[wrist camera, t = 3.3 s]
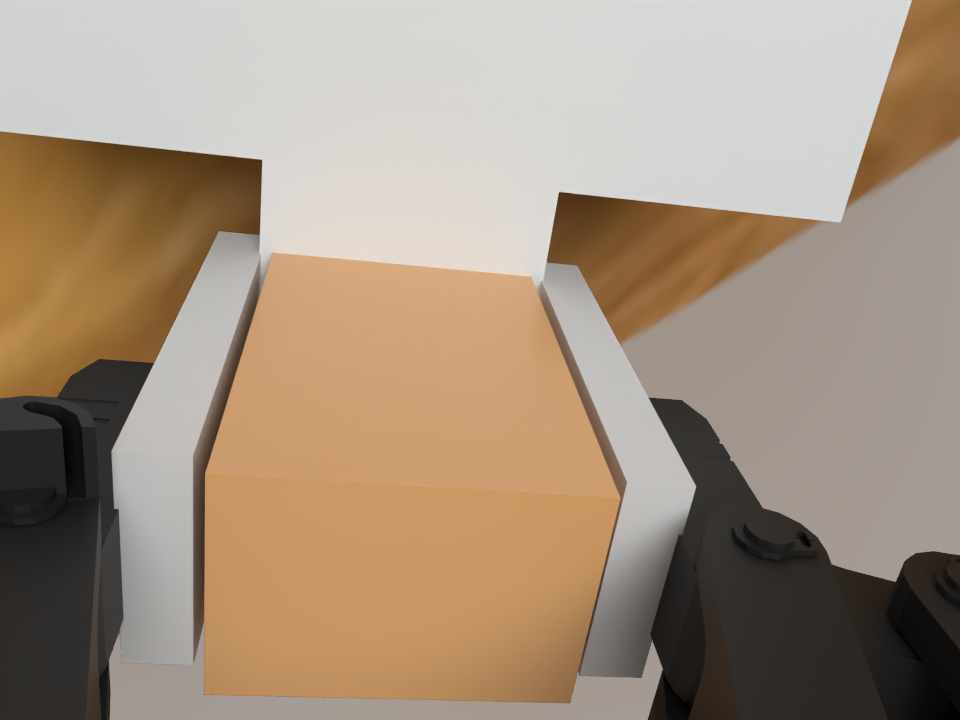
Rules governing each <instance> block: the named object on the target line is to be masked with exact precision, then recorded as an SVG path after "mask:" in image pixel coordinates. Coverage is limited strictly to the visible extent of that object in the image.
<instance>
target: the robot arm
mask: <svg viewBox="0 0 960 720" xmlns="http://www.w3.org/2000/svg"><path fill="white" fill-rule="evenodd" d="M259 249H260V235H254V234H243V233H233V232H223V231H219V232H218V234H217V236H216V238H215V240H214V242H213V244H212V246H211V249H210V251H209V253H208V255H207V257H206V259H205V261H204V263H203V265H202V267H201V269H200V271H199V273H198V275H197V277H196V279H195V281H194V283H193V285H192V287H191V289H190V291H189V294H188V296H187V298H186V300H185V302H184V304H183V306H182V308H181V310H180V312H179V314H178V316H177V318H176V320H175V322H174V324H173V326H172V328H171V330H170V332H169V334H168V336H167V338H166V341H165V343H164V345H163V347H162V349H161V351H160V353H159V355H158V357H157V359H156V361H155V363H144V362H131V361H118V360H104V359H99V360H97V361H95V362H94V363H92V364H90V365H89V366H87V367H85V368H84V369H82V370H80V371H79V372H77V373H75V374H74V375H72V376H71V377H70V378H69V380H68V381H67V383H66V384H65V386H64V388H63V389H62V391H61V392H60V394H59V395H58V397H57V398H55V397H40V396H19V397H11V398H2V399H0V720H109V717H110V677H109V658H110V655H111V652H112V650H113V647H114V644H115V641H116V638H117V636H118V633H119V630H120V641H121V663H132V664H169V665H171V664H172V665H193V664H194V660H195V656H196V651H197V647H198V644H199V640H200V635H201V631H202V627H203V623H204V588H205V473H206V470H207V466H208V463H209V460H210V456H211V453H212V450H213V447H214V443H215V440H216V437H217V434H218V430H219V427H220V424H221V420H222V417H223V414H224V411H225V407H226V404H227V401H228V398H229V394H230V391H231V388H232V385H233V381H234V378H235V375H236V371H237V368H238V365H239V362H240V358H241V355H242V352H243V349H244V345H245V342H246V339H247V336H248V332H249V329H250V326H251V322H252V319H253V316H254V313H255V309H256V306H257V303H258V300H259V296H260V269H261V254H259ZM539 297H540V300H541V302H542V305H543V307H544V309H545V312H546V314H547V317H548V319H549V322H550V324H551V327H552V329H553V332H554V334H555V337H556V339H557V342H558V344H559V347H560V349H561V352H562V354H563V357H564V359H565V362H566V364H567V366H568V369H569V371H570V374H571V376H572V379H573V381H574V384H575V386H576V389H577V391H578V394H579V396H580V399H581V401H582V404H583V406H584V409H585V411H586V414H587V416H588V419H589V421H590V424H591V426H592V428H593V431H594V433H595V436H596V438H597V441H598V443H599V446H600V448H601V451H602V453H603V456H604V458H605V461H606V463H607V466H608V468H609V471H610V473H611V476H612V478H613V481H614V483H615V485H616V488H617V490H618V493H619V495H620V498H621V499H620V503H619V507H618V511H617V515H616V519H615V523H614V527H613V531H612V535H611V539H610V543H609V547H608V551H607V555H606V560H605V564H604V568H603V572H602V576H601V580H600V584H599V588H598V592H597V596H596V600H595V604H594V608H593V612H592V616H591V621H590V625H589V629H588V633H587V637H586V641H585V645H584V649H583V653H582V657H581V661H580V665H579V669H578V672H579V675H580V676H600V677H601V676H602V677H634V678H636V677H637V678H641V677H642V674H643V670H644V667H645V663H646V660H647V656H648V653H649V649H650V646H651V642H652V640H653V643H654V646H655V648H656V651H657V654H658V656H659V659H660V662H661V665H662V668H663V671H662V674H661V677H660V681H659V684H658V687H657V691H656V694H655V697H654V701H653V704H652V707H651V711H650V714H649V718H648V720H960V555H953V554H946V553H941V552H934V551H932V552H925V553H915V554H914V555H913V556H911V557H910V558H908V559H907V560H906V561H905V562H904V564H903V567H902V569H901V571H900V574H899V576H898V578H897V581H896V582H893V581H889V580H885V579H882V578H877V577H874V576H870V575H866V574H862V573H858V572H854V571H851V570H847V569H844V568H841V567H837V566H834V565H831V562H830V559H829V556H828V554H827V551H826V550H825V548H824V547H823V545H822V544H821V542H820V541H819V539H818V537H816V536H815V535H814V534H812V533H811V532H810V531H809V530H808V529H807V528H805V527H804V526H803V525H802V524H800V523H798V522H796V521H794V520H792V519H790V518H788V517H786V516H784V515H782V514H780V513H778V512H774V511H771V510H767V509H764V508H762V506H761V505H760V503H759V502H758V500H757V498H756V497H755V495H754V494H753V492H752V491H751V489H750V488H749V486H748V484H747V482H746V481H745V479H744V478H743V476H742V475H741V473H740V471H739V470H738V469H737V467H736V465H735V464H734V462H733V461H730V455H729V454H728V452H727V451H726V449H725V448H724V446H723V444H720V443H719V441H720V440H719V438H718V436H717V435H716V433H715V432H714V430H713V429H712V427H711V425H710V424H709V422H708V421H707V419H705V418H704V417H703V416H702V415H700V414H699V413H698V412H696V411H695V410H694V409H692V408H691V407H690V406H689V405H687V404H686V403H684V402H683V401H682V400H672V399H658V398H648V396H647V394H646V393H645V391H644V389H643V387H642V385H641V384H640V381H639V380H638V378H637V376H636V374H635V372H634V370H633V368H632V367H631V365H630V363H629V361H628V359H627V357H626V356H625V354H624V352H623V350H622V348H621V346H620V344H619V342H618V341H617V339H616V337H615V335H614V333H613V331H612V329H611V328H610V326H609V324H608V322H607V320H606V318H605V317H604V315H603V313H602V311H601V309H600V307H599V305H598V304H597V302H596V300H595V298H594V296H593V294H592V292H591V291H590V289H589V287H588V285H587V283H586V281H585V279H584V278H583V276H582V274H581V272H580V270H579V268H578V267H577V266H575V265H565V264H554V263H546V267H545V273H544V278H543V281H541V287H540V292H539Z"/></svg>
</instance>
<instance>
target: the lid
mask: <svg viewBox="0 0 960 720" xmlns="http://www.w3.org/2000/svg"><path fill="white" fill-rule="evenodd" d="M911 2H912V0H0V131H2V132H12V133H21V134H30V135H39V136H48V137H58V138H67V139H76V140H85V141H95V142H104V143H113V144H122V145H131V146H141V147H150V148H159V149H168V150H177V151H187V152H196V153H205V154H214V155H224V156H233V157H242V158H251V159H260V160H262V187H261V218H260V249H259V254H261V269H260V296H259V300H258V303H257V306H256V309H255V313H254V316H253V319H252V322H251V326H250V329H249V332H248V336H247V339H246V342H245V345H244V349H243V352H242V355H241V358H240V362H239V365H238V368H237V371H236V375H235V378H234V381H233V385H232V388H231V391H230V394H229V398H228V401H227V404H226V407H225V411H224V414H223V417H222V420H221V424H220V427H219V430H218V434H217V437H216V440H215V443H214V447H213V450H212V453H211V456H210V460H209V463H208V466H207V470H206V473H205V588H204V695H234V696H279V697H322V698H367V699H407V700H411V699H412V700H452V701H495V702H537V703H539V702H540V703H570V702H571V698H572V693H573V690H574V685H575V681H576V677H577V673H578V669H579V665H580V661H581V657H582V653H583V649H584V645H585V641H586V637H587V633H588V629H589V625H590V621H591V616H592V612H593V608H594V604H595V600H596V596H597V592H598V588H599V584H600V580H601V576H602V572H603V568H604V564H605V560H606V555H607V551H608V547H609V543H610V539H611V535H612V531H613V527H614V523H615V519H616V515H617V511H618V507H619V503H620V499H621V498H620V495H619V493H618V490H617V488H616V485H615V483H614V481H613V478H612V476H611V473H610V471H609V468H608V466H607V463H606V461H605V458H604V456H603V453H602V451H601V448H600V446H599V443H598V441H597V438H596V436H595V433H594V431H593V428H592V426H591V424H590V421H589V419H588V416H587V414H586V411H585V409H584V406H583V404H582V401H581V399H580V396H579V394H578V391H577V389H576V386H575V384H574V381H573V379H572V376H571V374H570V371H569V369H568V366H567V364H566V362H565V359H564V357H563V354H562V352H561V349H560V347H559V344H558V342H557V339H556V337H555V334H554V332H553V329H552V327H551V324H550V322H549V319H548V317H547V314H546V312H545V309H544V307H543V305H542V302H541V300H540V297H539V292H540V287H541V281H543V278H544V273H545V267H546V262H547V256H548V250H549V245H550V239H551V234H552V228H553V222H554V217H555V211H556V206H557V200H558V194H559V192H565V193H574V194H583V195H592V196H601V197H611V198H620V199H629V200H638V201H648V202H657V203H666V204H675V205H684V206H694V207H703V208H712V209H721V210H730V211H740V212H749V213H758V214H767V215H777V216H786V217H795V218H804V219H813V220H823V221H832V222H841V219H842V216H843V213H844V210H845V207H846V204H847V201H848V197H849V194H850V191H851V188H852V185H853V182H854V179H855V176H856V173H857V170H858V166H859V163H860V160H861V157H862V154H863V151H864V148H865V145H866V142H867V138H868V135H869V132H870V129H871V126H872V123H873V120H874V117H875V114H876V110H877V107H878V104H879V101H880V98H881V95H882V92H883V89H884V86H885V82H886V79H887V76H888V73H889V70H890V67H891V64H892V61H893V58H894V55H895V51H896V48H897V45H898V42H899V39H900V36H901V33H902V30H903V27H904V23H905V20H906V17H907V14H908V11H909V8H910V5H911Z"/></svg>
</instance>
